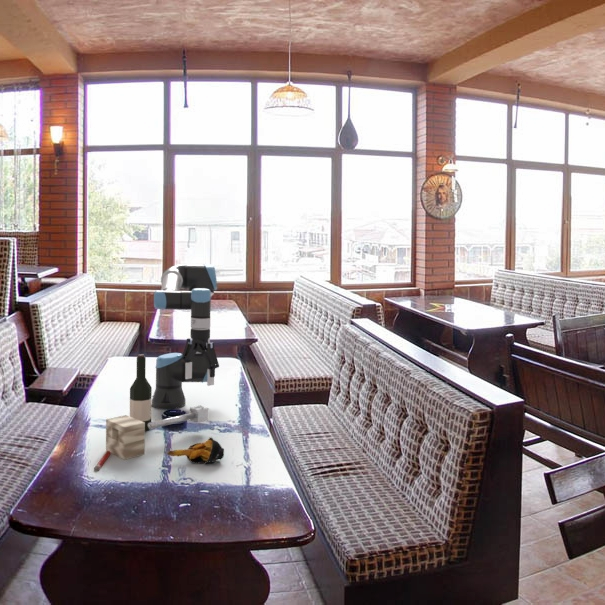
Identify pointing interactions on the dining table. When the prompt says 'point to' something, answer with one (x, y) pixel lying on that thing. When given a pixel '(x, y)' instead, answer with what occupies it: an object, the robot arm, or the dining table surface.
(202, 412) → the pull pin
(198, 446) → the fried shrimp in bowl
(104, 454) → the flare
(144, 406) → the wine bottle
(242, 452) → the dining table surface
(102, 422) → the dining table surface
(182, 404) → the robot arm
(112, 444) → the eye block
